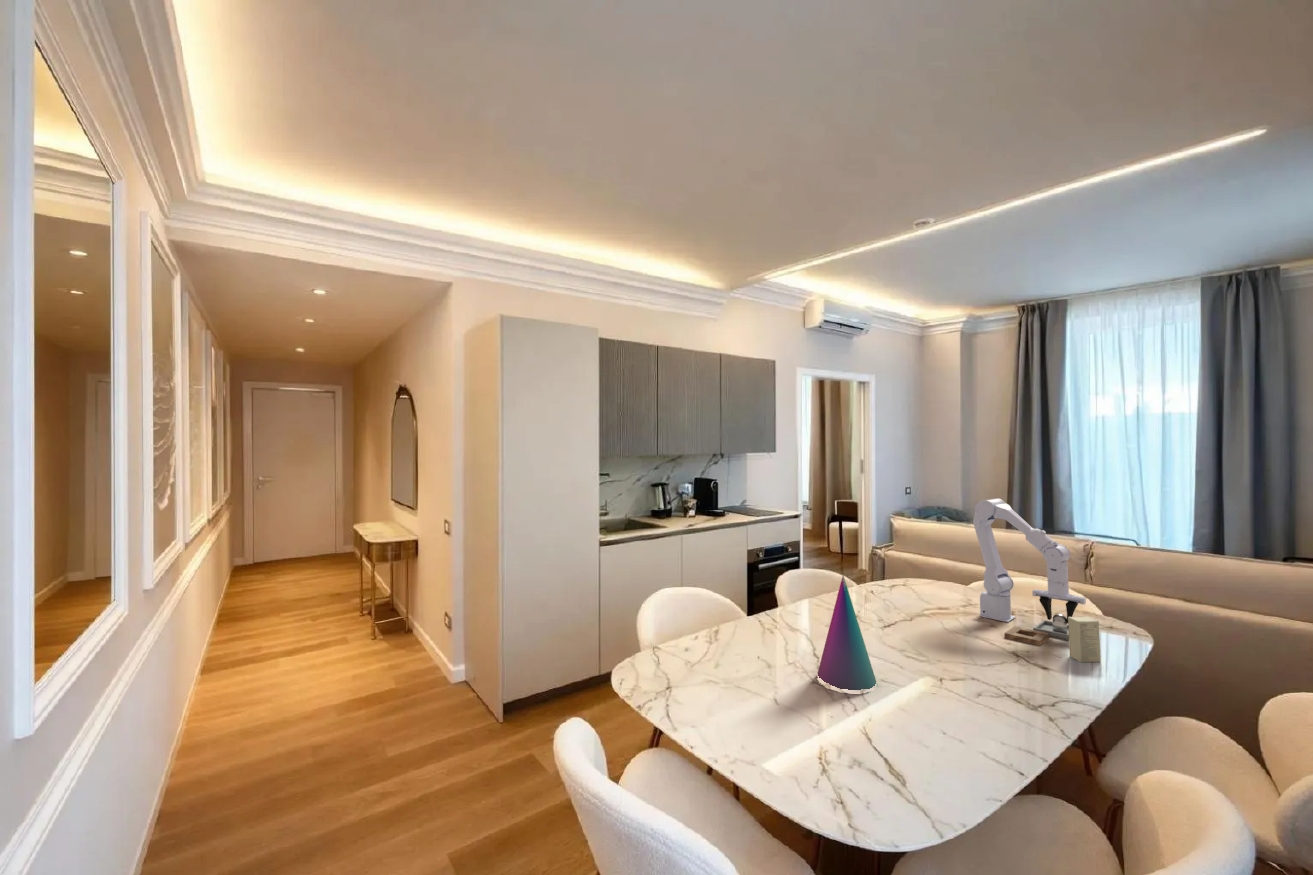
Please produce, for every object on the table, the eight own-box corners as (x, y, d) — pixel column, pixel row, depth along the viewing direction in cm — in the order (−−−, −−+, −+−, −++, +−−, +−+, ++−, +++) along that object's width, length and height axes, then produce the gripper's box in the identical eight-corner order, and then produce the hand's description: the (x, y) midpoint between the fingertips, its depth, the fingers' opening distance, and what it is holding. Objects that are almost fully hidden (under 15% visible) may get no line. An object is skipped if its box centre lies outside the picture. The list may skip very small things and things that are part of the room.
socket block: (1004, 637, 178) (1004, 632, 178) (1014, 630, 184) (1014, 625, 184) (1040, 645, 170) (1039, 640, 170) (1049, 637, 176) (1049, 633, 176)
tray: (1033, 632, 181) (1033, 627, 181) (1043, 624, 189) (1043, 619, 189) (1077, 641, 172) (1076, 636, 172) (1086, 632, 180) (1086, 628, 180)
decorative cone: (873, 671, 154) (870, 568, 154) (881, 697, 138) (877, 582, 139) (815, 666, 158) (812, 566, 159) (817, 691, 143) (813, 579, 143)
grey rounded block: (1050, 631, 181) (1051, 613, 181) (1054, 628, 183) (1055, 611, 183) (1065, 634, 178) (1065, 616, 178) (1069, 631, 180) (1069, 614, 180)
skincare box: (1090, 656, 161) (1089, 616, 161) (1101, 662, 156) (1099, 621, 156) (1068, 656, 161) (1067, 616, 161) (1078, 662, 157) (1077, 620, 157)
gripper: (1029, 579, 184) (1030, 618, 184) (1081, 587, 173) (1083, 629, 173) (1035, 575, 188) (1036, 614, 188) (1086, 583, 177) (1088, 623, 177)
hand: (1059, 620), depth 181 cm, fingers open, 5 cm apart
